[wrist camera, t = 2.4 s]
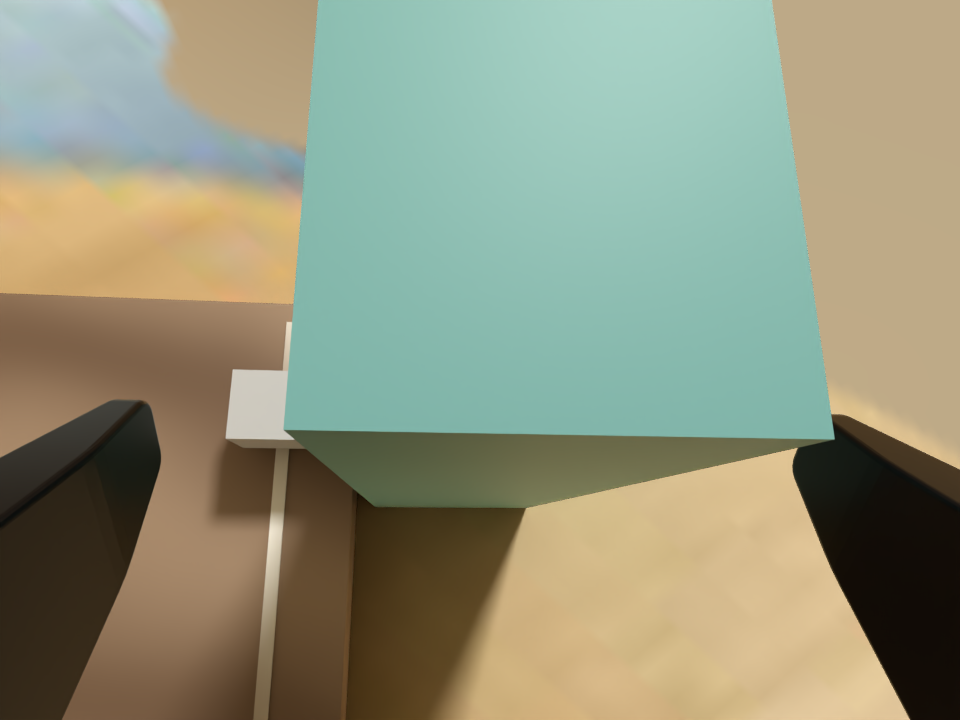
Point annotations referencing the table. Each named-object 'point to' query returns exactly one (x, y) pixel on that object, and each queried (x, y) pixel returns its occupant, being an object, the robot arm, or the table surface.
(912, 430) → the table surface
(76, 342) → the board
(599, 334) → the teal rectangular block
